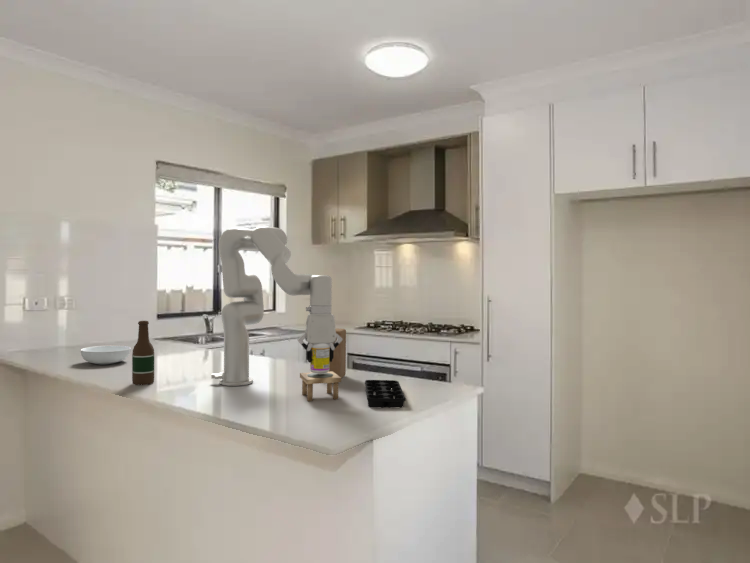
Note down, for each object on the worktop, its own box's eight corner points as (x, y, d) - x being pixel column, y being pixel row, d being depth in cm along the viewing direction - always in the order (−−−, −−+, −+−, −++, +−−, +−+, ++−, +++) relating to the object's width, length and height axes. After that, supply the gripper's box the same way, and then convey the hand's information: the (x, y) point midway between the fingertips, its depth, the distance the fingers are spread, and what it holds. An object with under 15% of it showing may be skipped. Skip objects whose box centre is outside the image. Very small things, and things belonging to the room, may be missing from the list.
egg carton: (395, 388, 203) (395, 378, 203) (422, 408, 174) (422, 396, 174) (350, 390, 198) (350, 380, 198) (369, 411, 169) (370, 399, 169)
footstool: (306, 402, 178) (306, 379, 178) (299, 394, 190) (299, 372, 189) (341, 399, 182) (341, 377, 182) (332, 391, 193) (332, 370, 193)
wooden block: (339, 380, 213) (340, 331, 213) (315, 379, 215) (316, 330, 215) (346, 376, 223) (346, 328, 223) (323, 374, 225) (323, 327, 225)
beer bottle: (158, 382, 206) (158, 320, 205) (142, 386, 199) (142, 322, 198) (144, 380, 209) (144, 319, 209) (127, 384, 202) (127, 321, 202)
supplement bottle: (310, 369, 189) (311, 333, 188) (329, 370, 189) (329, 334, 189) (309, 373, 182) (310, 336, 182) (329, 373, 183) (329, 336, 182)
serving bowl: (117, 367, 236) (117, 352, 236) (70, 366, 236) (70, 351, 236) (138, 359, 257) (138, 345, 257) (95, 359, 257) (95, 344, 257)
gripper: (298, 311, 179) (297, 364, 179) (347, 311, 185) (346, 362, 185) (293, 309, 186) (293, 360, 186) (341, 309, 192) (341, 358, 192)
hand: (319, 361), depth 186 cm, fingers closed on supplement bottle, 6 cm apart
